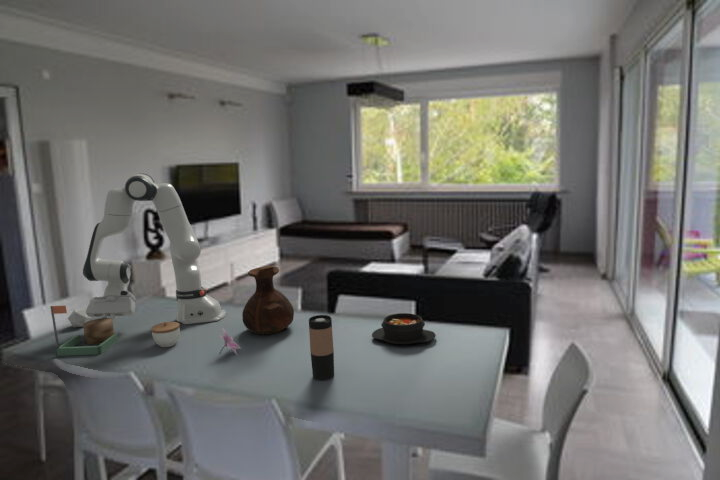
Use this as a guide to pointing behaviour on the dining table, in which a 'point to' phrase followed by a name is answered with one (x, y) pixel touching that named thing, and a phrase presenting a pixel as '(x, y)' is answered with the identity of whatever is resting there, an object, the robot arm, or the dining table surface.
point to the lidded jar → (166, 333)
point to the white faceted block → (78, 317)
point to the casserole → (403, 329)
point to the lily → (229, 342)
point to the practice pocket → (78, 340)
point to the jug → (267, 304)
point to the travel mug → (321, 347)
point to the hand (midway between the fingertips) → (106, 324)
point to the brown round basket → (98, 330)
